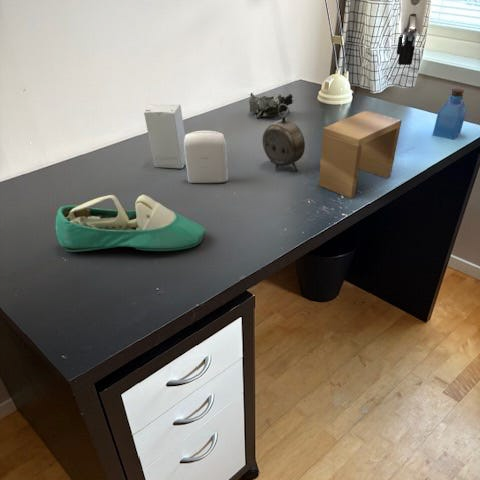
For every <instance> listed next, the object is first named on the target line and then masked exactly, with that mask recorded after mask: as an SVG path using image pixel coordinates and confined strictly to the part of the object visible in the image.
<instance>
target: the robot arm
mask: <svg viewBox="0 0 480 480" xmlns="http://www.w3.org/2000/svg"><path fill="white" fill-rule="evenodd" d="M427 3H428V0H402V1H401V6H400V13H399V14H400V16H399V36H398V41H397V48H396V55H398V59H397V64H398V66H399V65H400V66H411V65H412V64H413V61H414V54H415V50H416V49H415V48H416V36H417V35H418V36H421V35H423V28H424V22H425V18H426V17H425V15H426V9H427Z"/></svg>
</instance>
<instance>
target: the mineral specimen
mask: <svg viewBox="0 0 480 480" xmlns="http://www.w3.org/2000/svg"><path fill="white" fill-rule="evenodd" d="M249 95H250V97H249V101H248V105H249V111H250V112H251V113H255V114H256V116H255V117H256V119H259V118H262V117H263V118H265V117H270V118H271V117H276V116H277V115H279V113H280V114H282V113H284V112H288V109H287V107H286V106H285V105H282V106H280V105H281V104H286V105H287V106H288V107H289V106H290V105H292V104H294V102H295V100H293V94H292V93H289V94H287V95H286V96H285V95H284V96H282V94H281V93H279V94H278V95H277V96H275V97H274V96H266V95H262V97H257V96H255V95H254V93H252V92H251V93H250V94H249ZM279 106H280V108H279V113H278V107H279Z"/></svg>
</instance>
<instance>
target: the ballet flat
mask: <svg viewBox="0 0 480 480" xmlns="http://www.w3.org/2000/svg"><path fill="white" fill-rule="evenodd" d="M106 200H112V202H113V203H114V206H115V207H116V209H108V208H98V207H97V208H96V207H92V206H95V205H98V204H99V203H101V202H104V201H106ZM134 206H135V209H133V210H124V208H123V206H122V204H121V203H120V201H119V200H118V198H117V196H115V195H113V194H109V195H105V196H100V197H97V198H94V199H91V200H88V201H87V202H83V203H82V204H79V205H77V204H76V205H75V204H73V205H72V204H69V205H67V204H66V205H63V206H60V207H59V208H58V210H57V214H56V217H55V234H56V237H57V240H58V244H59V245H60V246H61V247H63V249H64V250H65V251H66V252H68V253H78V252H88V251H89V252H90V251H95V250H102V249H112V248H118V247H126V248H127V247H128V248H129V247H130V248H134V249H136V250H140V251H149V252H171V251H179V250H186V249H191V248H194V247H197V246H198V245H199V244H201V243H202V241H203V240H204V237H205V236H206V229H205V227H204V226H202V225H201V224H200V223H197V222H195V221H193V220H190V219H189V218H187V217H185V216H184V215H180V214H179V213H176V212H175V211H173V210H172V209H171V208H167V207H165V206H164V205H163V204H161V203H160V202H157V201H155V200H154V199H153V198H151V197H150V196H148V195H147V194H141V195H139V196H138V197H137V198H136V201H135V202H134Z"/></svg>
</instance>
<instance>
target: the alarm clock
mask: <svg viewBox="0 0 480 480" xmlns="http://www.w3.org/2000/svg"><path fill="white" fill-rule="evenodd" d="M282 105H285V106H286V107H287V115H282V114H281V113H279V108H280V106H282ZM280 106H279V107H278V116H279V117H280V118H281V119H278V120H277V121H276V122H275V121H274V122H273V123H271V124H269V125H268V126H267V127H266V128H265V130H264V131H263V135H262V148H263V150H264V153H265V155H266V157H267V158H268V159H269V162H270V163H272V164H274V165H275V167H274V171H278V168H279V167H280V168H286V167H289V166H291V165H292V168H293V169H294V172H296V173H297V172H298V171H299V170H298V168H297V165H296V162H299V160H300V159H302V157H303V155H304V153H305V148H306V143H305V141H306V140H305V137H304V135H303V132H302V131H301V128H299V126H298V125H297V124H296V123H295V122H293V121H292V120H291V119H288V117H289V116H290V107H289V105H288V106H287V105H286V104H281V105H280Z"/></svg>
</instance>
